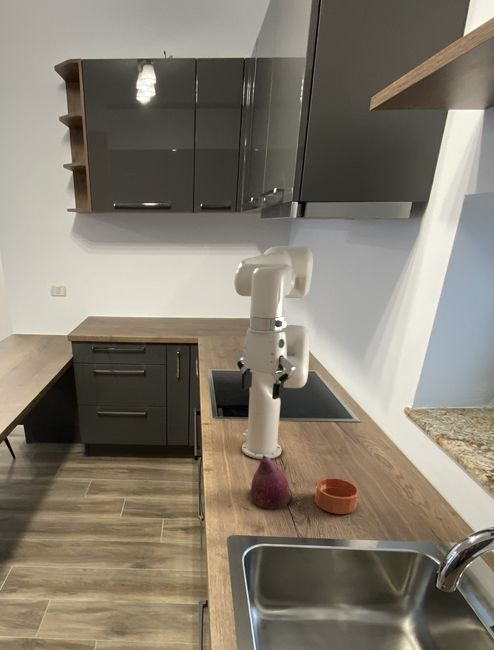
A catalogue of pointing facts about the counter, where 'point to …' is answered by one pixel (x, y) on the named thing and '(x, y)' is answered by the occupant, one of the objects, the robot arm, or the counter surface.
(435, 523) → the counter surface
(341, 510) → the bowl
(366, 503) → the counter surface
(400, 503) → the counter surface
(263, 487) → the vegetable
